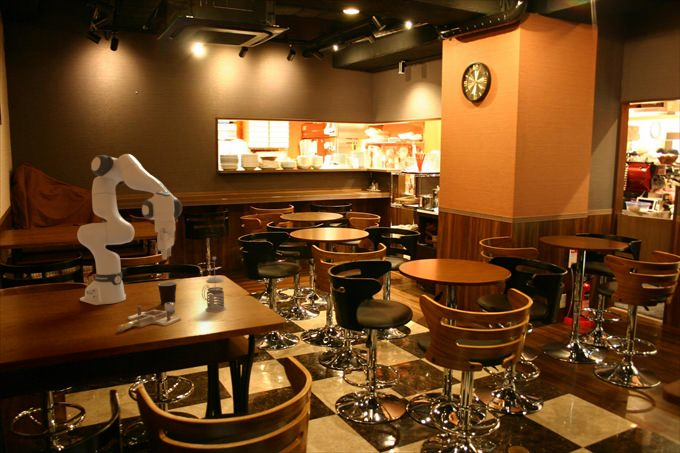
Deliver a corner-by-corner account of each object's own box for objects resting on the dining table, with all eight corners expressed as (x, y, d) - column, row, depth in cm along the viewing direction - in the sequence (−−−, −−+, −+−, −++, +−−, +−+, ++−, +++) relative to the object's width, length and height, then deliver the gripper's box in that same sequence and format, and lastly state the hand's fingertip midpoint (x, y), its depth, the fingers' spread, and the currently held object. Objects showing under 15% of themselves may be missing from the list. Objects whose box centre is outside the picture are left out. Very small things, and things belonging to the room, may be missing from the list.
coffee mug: (172, 306, 265) (171, 286, 263) (155, 305, 266) (154, 285, 265) (183, 300, 276) (182, 280, 275) (167, 299, 278) (166, 279, 276)
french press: (230, 308, 261) (229, 256, 257) (209, 314, 252) (207, 260, 249) (218, 305, 267) (216, 254, 264) (197, 310, 259) (195, 257, 255)
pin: (123, 332, 227) (122, 325, 226) (117, 331, 228) (117, 324, 227) (139, 326, 235) (139, 319, 234) (134, 325, 236) (133, 318, 235)
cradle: (117, 323, 240) (116, 311, 239) (143, 313, 253) (142, 303, 252) (155, 329, 230) (155, 318, 229) (180, 320, 244) (180, 309, 243)
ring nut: (162, 313, 253) (162, 303, 253) (169, 311, 257) (169, 301, 257) (170, 314, 252) (169, 304, 251) (177, 312, 256) (176, 302, 255)
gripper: (167, 229, 242) (169, 261, 243) (176, 225, 262) (177, 254, 263) (152, 230, 241) (154, 261, 242) (162, 225, 261) (164, 254, 262)
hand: (166, 257), depth 253 cm, fingers open, 8 cm apart
